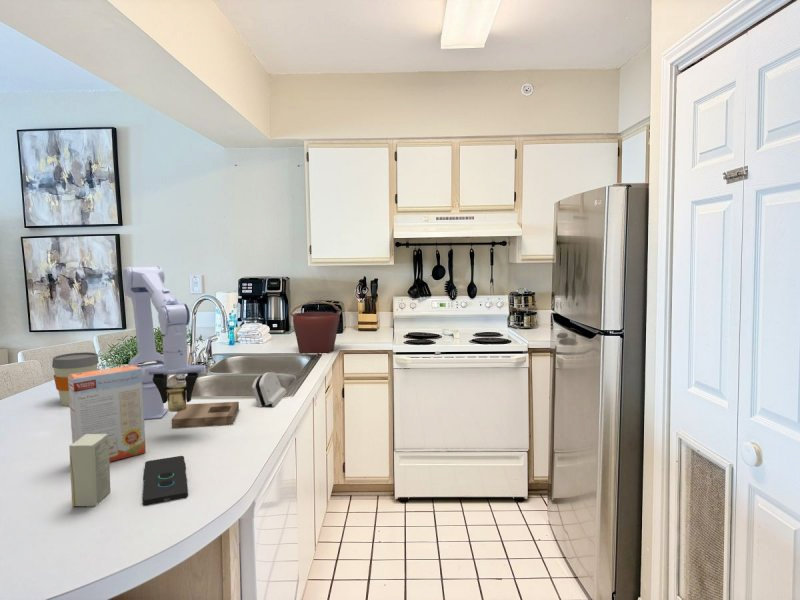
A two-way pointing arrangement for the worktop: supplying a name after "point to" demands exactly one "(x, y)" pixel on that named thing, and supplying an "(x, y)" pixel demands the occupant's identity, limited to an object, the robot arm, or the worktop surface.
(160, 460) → the smart home device
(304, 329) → the bucket
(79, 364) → the reusable coffee cup
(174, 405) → the bushing
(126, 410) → the cracker box
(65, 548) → the worktop surface
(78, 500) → the skincare box
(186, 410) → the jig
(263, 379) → the grey piece
